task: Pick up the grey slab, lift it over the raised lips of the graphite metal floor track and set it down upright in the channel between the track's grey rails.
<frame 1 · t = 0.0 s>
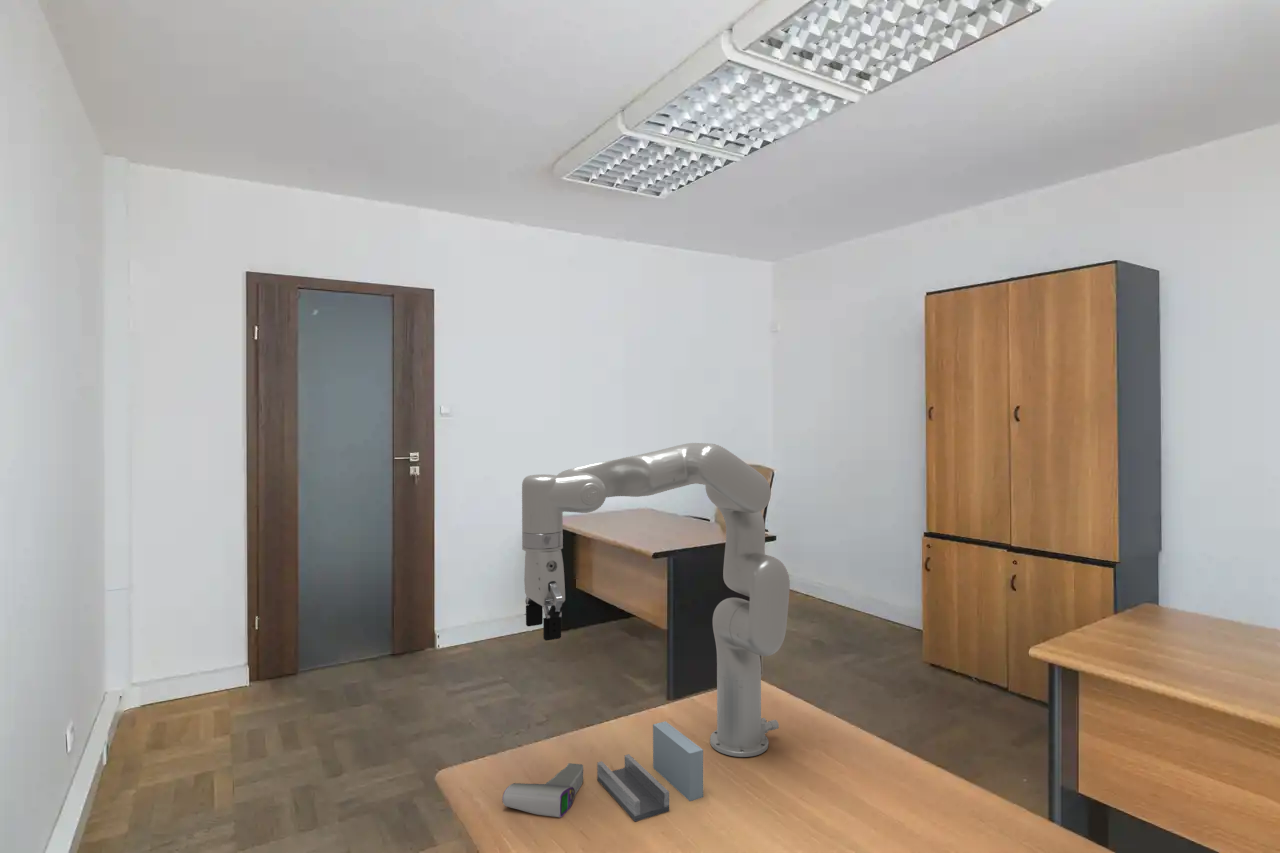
hand: (543, 631, 128), 31 cm above the table, fingers open, 9 cm apart
infrared thermometer: (546, 796, 130), on the table
grey slab: (677, 782, 134), on the table
track: (631, 794, 130), on the table
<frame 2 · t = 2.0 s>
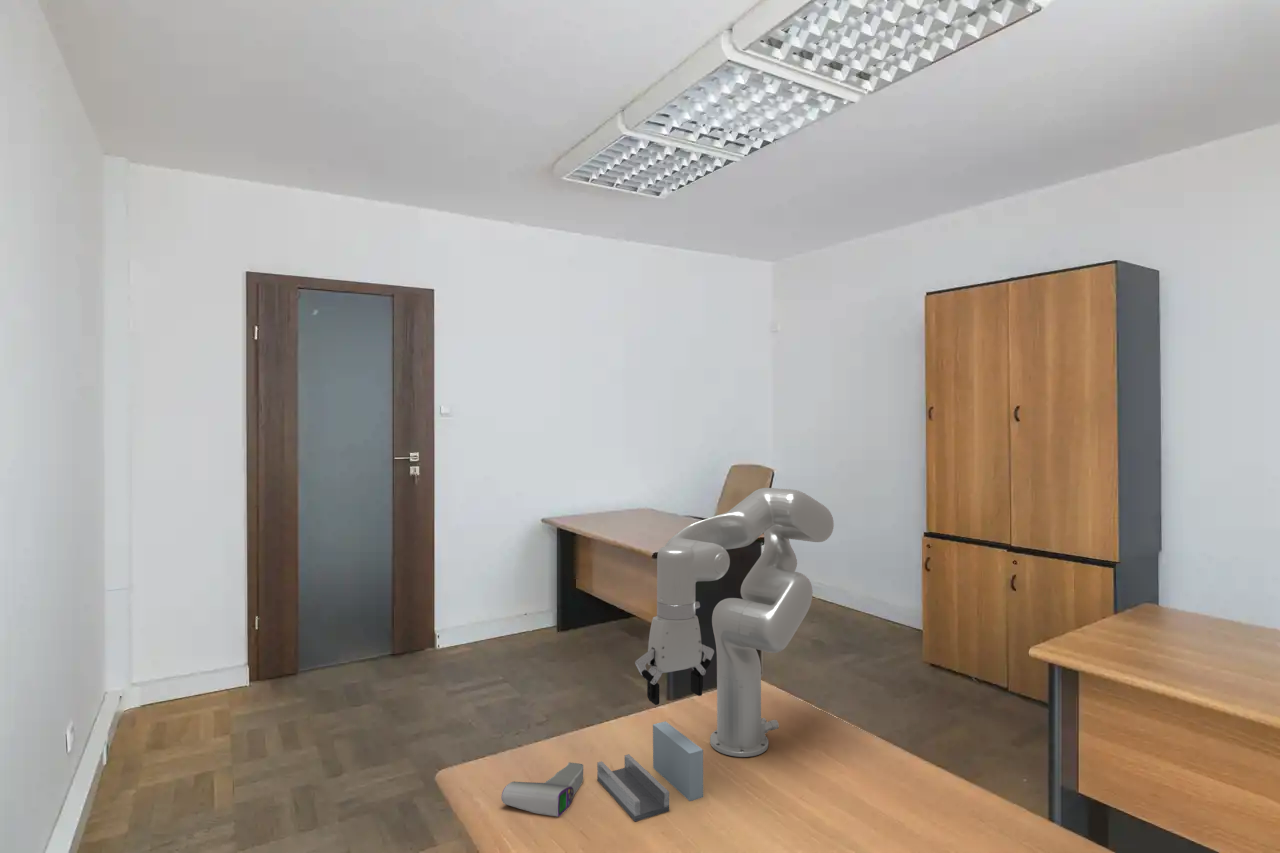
hand: (675, 697, 134), 17 cm above the table, fingers open, 9 cm apart
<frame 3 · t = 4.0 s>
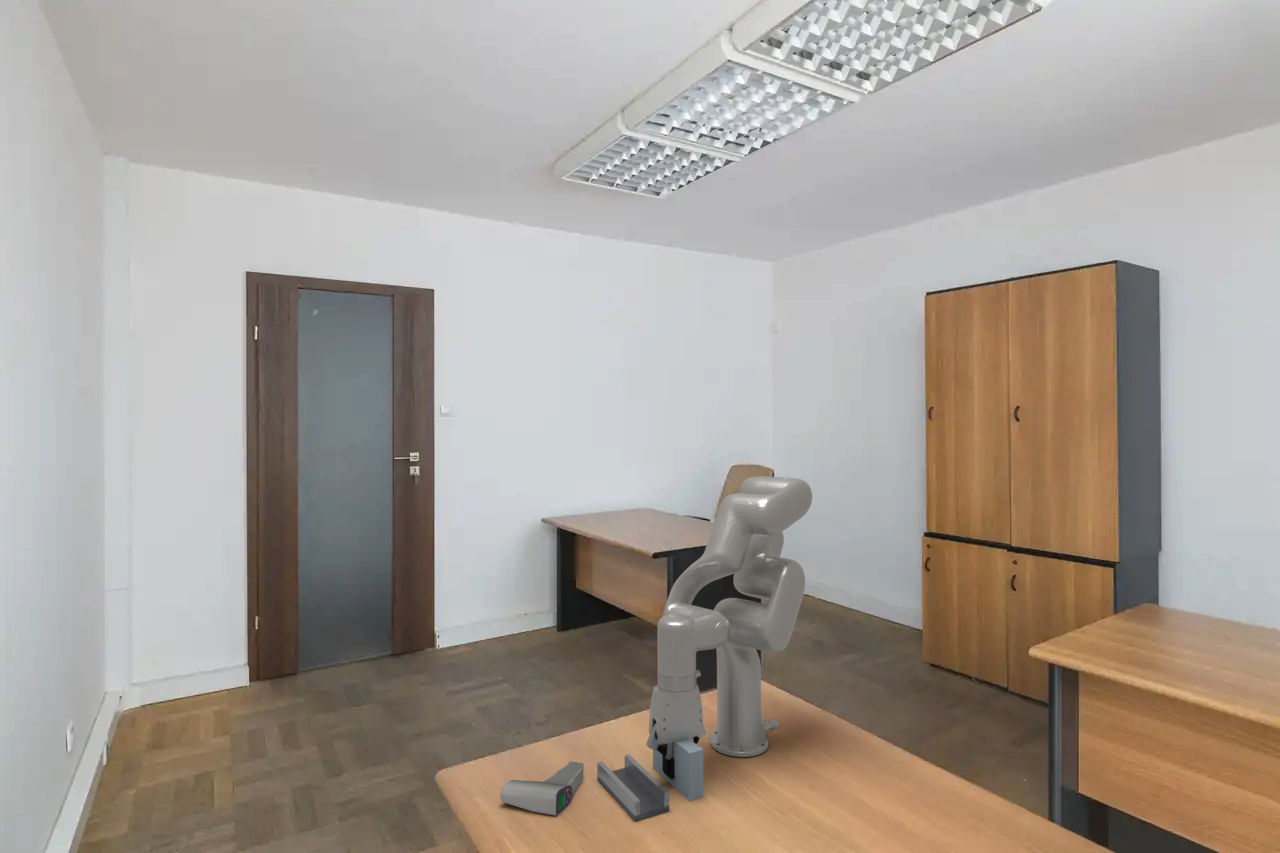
hand: (677, 772, 134), 2 cm above the table, fingers closed on grey slab, 3 cm apart
grey slab: (677, 781, 134), on the table, touching gripper
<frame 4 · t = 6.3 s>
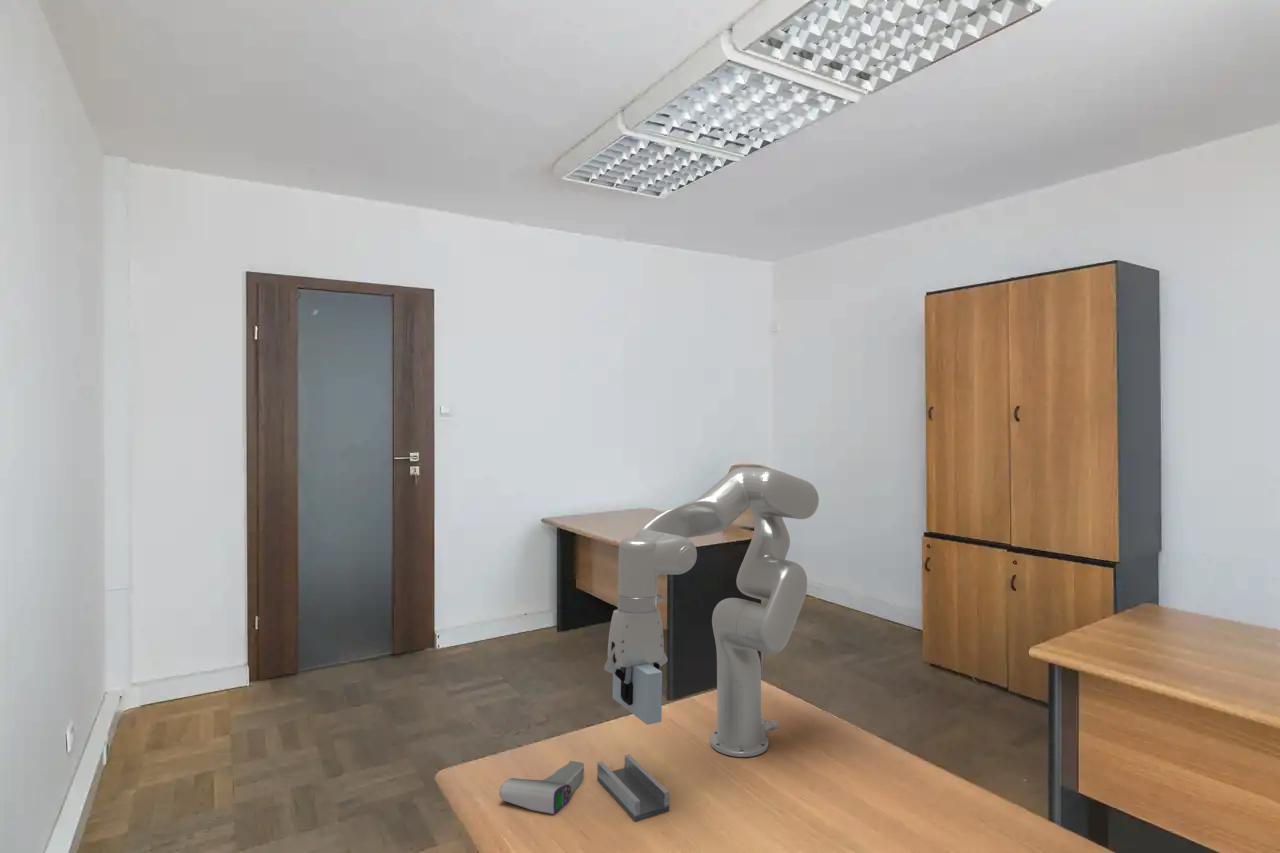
hand: (635, 699, 130), 18 cm above the table, fingers closed on grey slab, 3 cm apart
grey slab: (635, 709, 130), point 16 cm above the table, touching gripper
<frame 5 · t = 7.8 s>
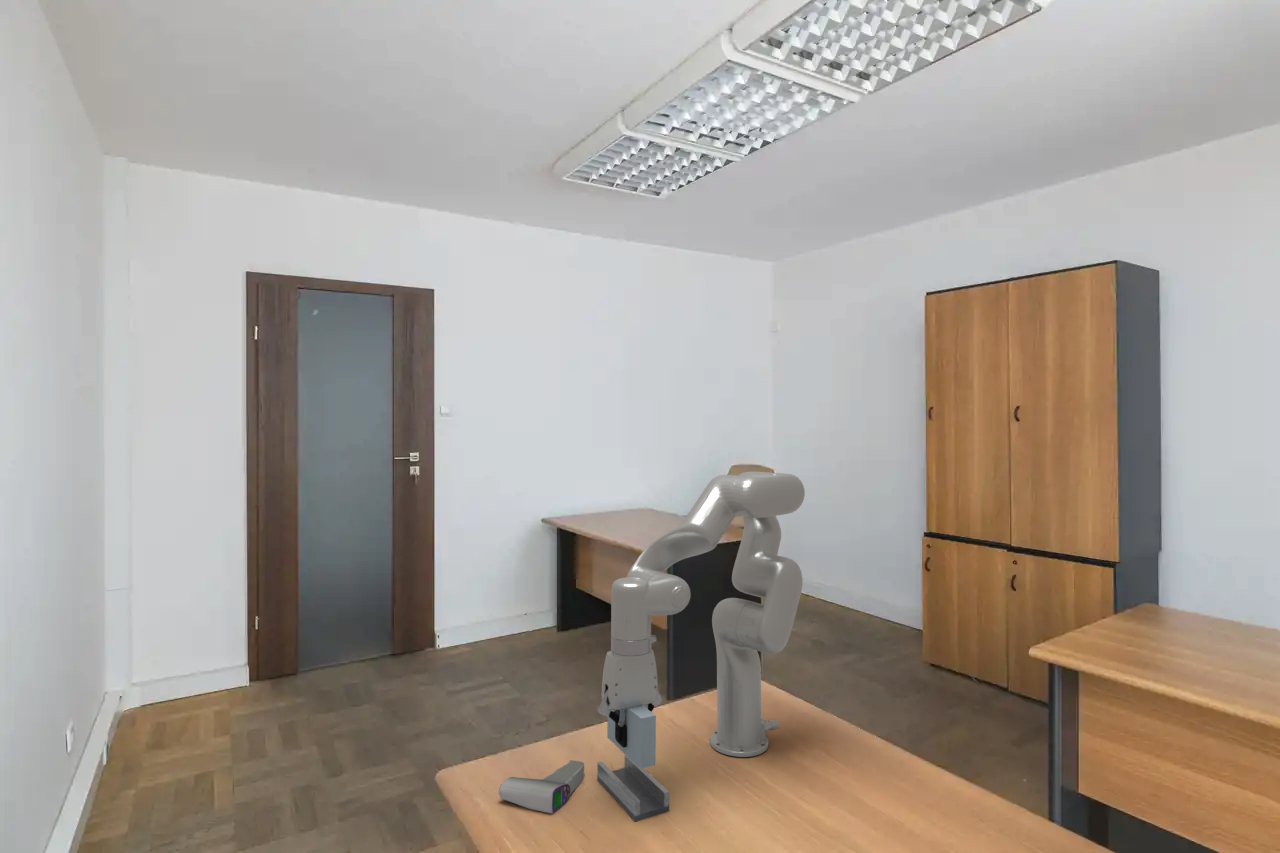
hand: (630, 741, 129), 10 cm above the table, fingers closed on grey slab, 3 cm apart
grey slab: (630, 750, 129), point 8 cm above the table, touching gripper
when the fingers open (5 cm above the table, at t = 9.0 s): grey slab drops 2 cm, resting on track.
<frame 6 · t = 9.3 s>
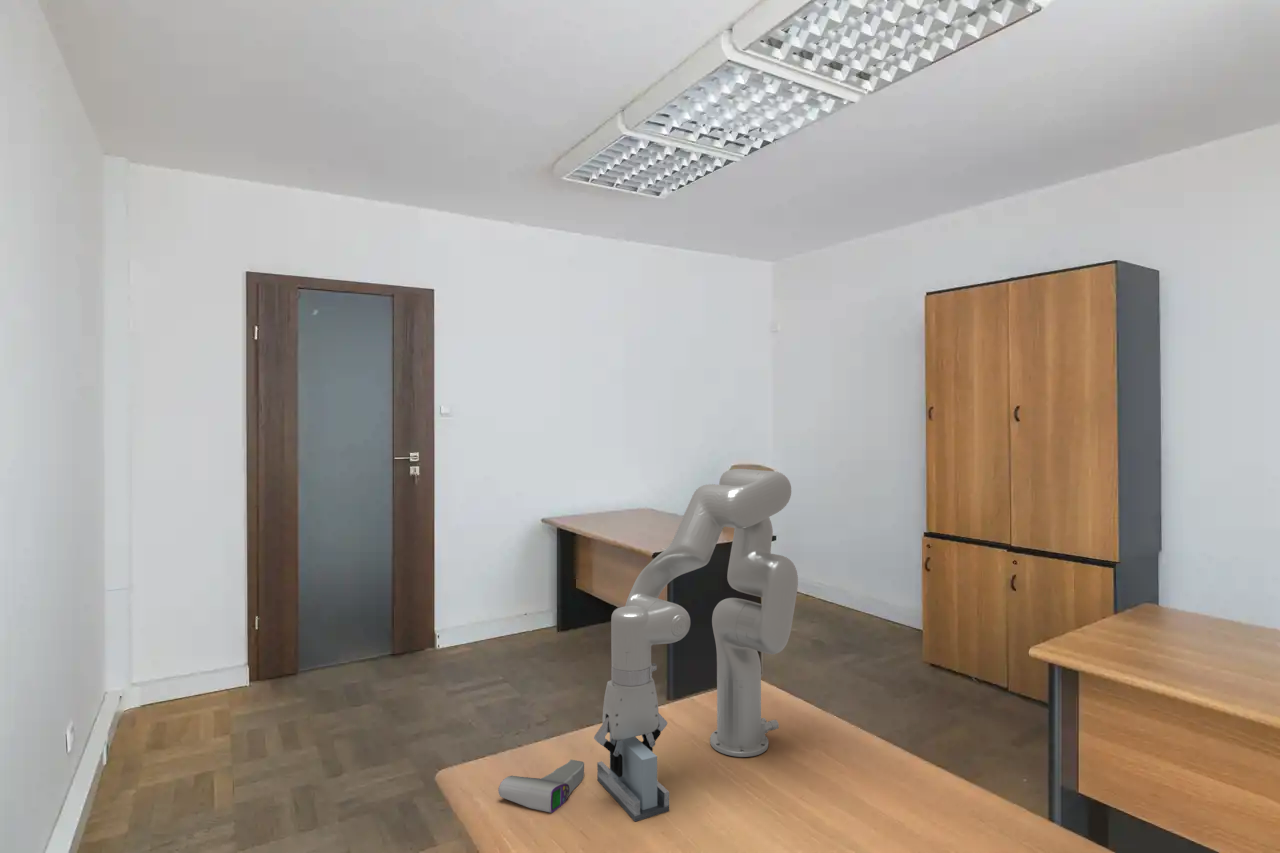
hand: (631, 768, 129), 5 cm above the table, fingers open, 5 cm apart
grey slab: (632, 789, 130), point 1 cm above the table, touching track
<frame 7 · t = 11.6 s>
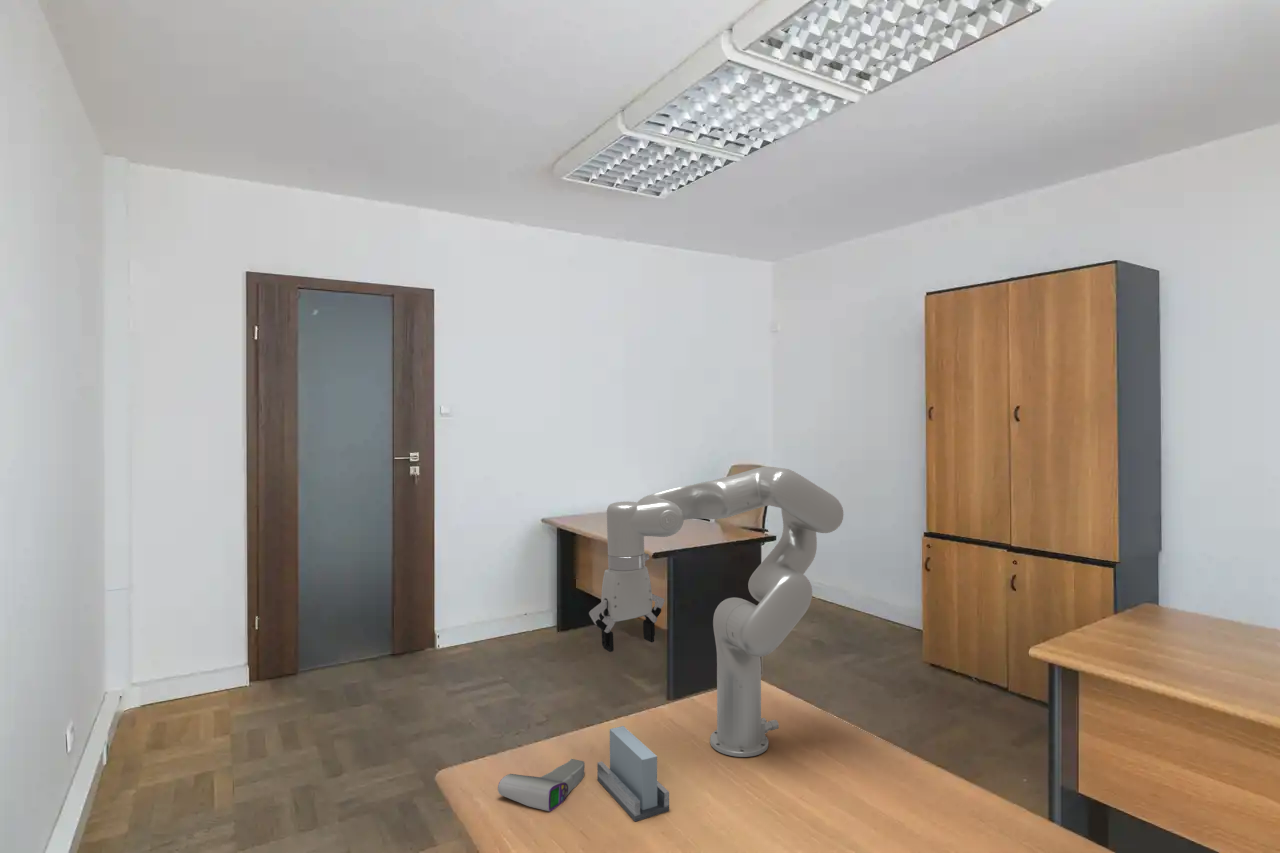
hand: (629, 645, 141), 25 cm above the table, fingers open, 9 cm apart
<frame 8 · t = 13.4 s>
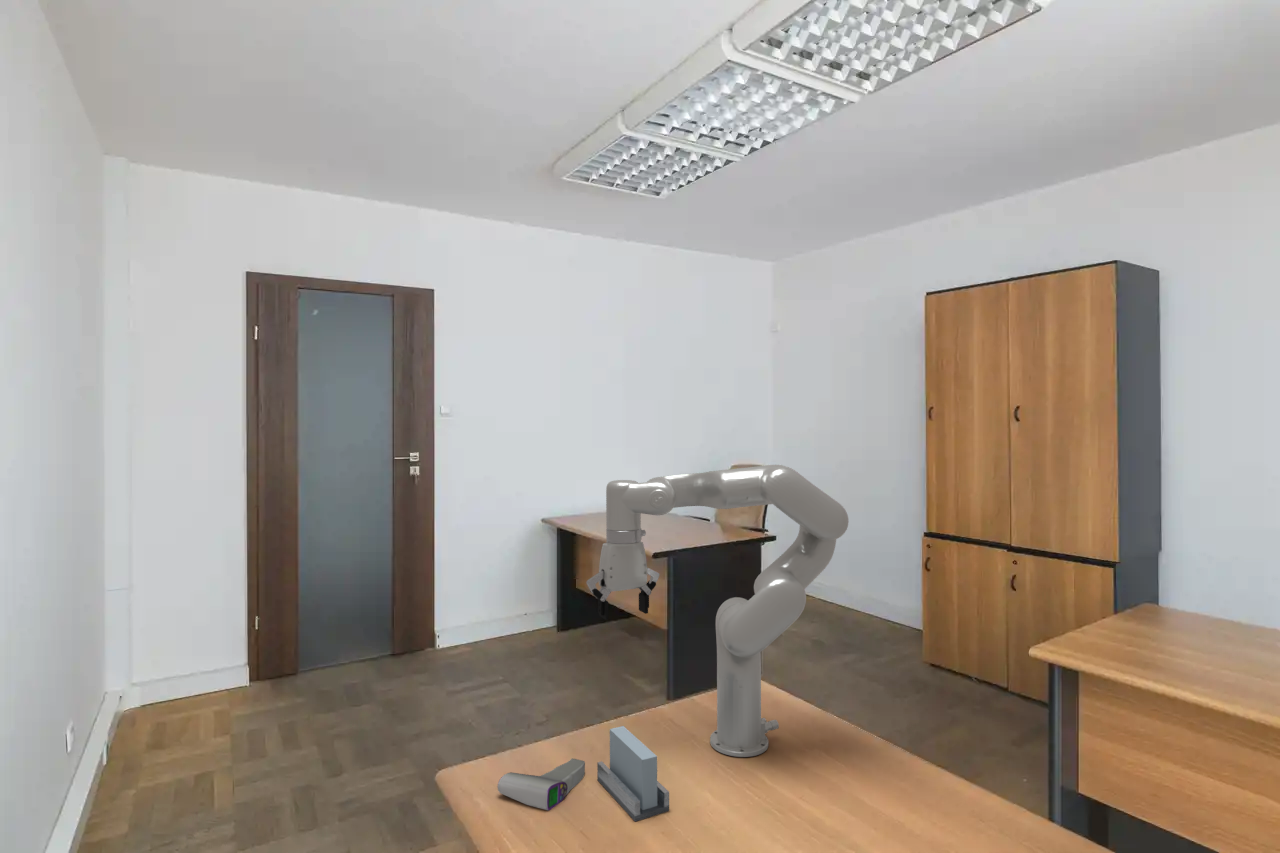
hand: (623, 615, 150), 28 cm above the table, fingers open, 9 cm apart
at the end: grey slab inside the target area on the track (0.1 cm from its centre), point 1.0 cm above the track's base; grey slab tilted 0°; the gripper is holding nothing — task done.
